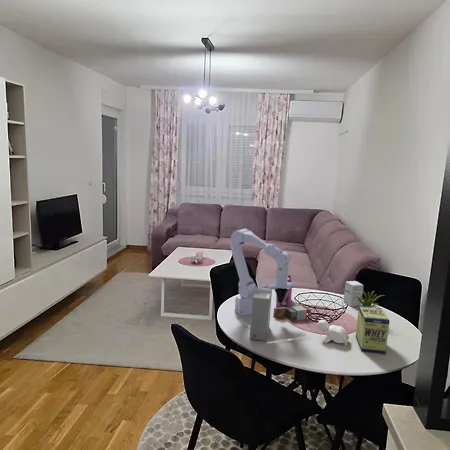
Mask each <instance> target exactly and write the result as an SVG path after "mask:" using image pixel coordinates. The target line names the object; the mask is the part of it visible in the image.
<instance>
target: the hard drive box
mask: <svg viewBox="0 0 450 450" xmlns="http://www.w3.org/2000/svg"><path fill="white" fill-rule="evenodd" d="M272 293H273V289H267V288H264V287H258V286H257V289H256V291H255V293H254V296H253V301H252V313H251V314H250V315H251V317H250V325H249V326H250V328H249V340H253V341H254V340H255V341H256V340H257V341H262V342H266V341H267V337H268V333H269V329H270V323H271V322H270V320H271V310H272V309H271V308H272V296H273V294H272Z"/></svg>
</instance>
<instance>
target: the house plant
mask: <svg viewBox="0 0 450 450" xmlns="http://www.w3.org/2000/svg"><path fill="white" fill-rule="evenodd" d="M362 291H363V293H362V294H363V295H364V297H363V295H362V296H361V295H360V294H359V293H358V292H357V293H358V294H359V295H360V297H361V298H362V300H361V298H360V297H359V296H358V295H356V296H357V298H358V299H359V300H356V301H360V302H359V303H361V305H360V306H366V307H376V308H379V303H377V302H376V301H377V300H378V299H379V298H381V297H383V296H386V295H384V294H383V295H382V294H381V295H377V294H374V292H375V290H373V291H371V292H369V291H368V292H367V293H366V292H365V291H364V289H363V290H362ZM373 294H374V295H373ZM374 302H375V303H374Z"/></svg>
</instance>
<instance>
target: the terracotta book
mask: <svg viewBox="0 0 450 450" xmlns="http://www.w3.org/2000/svg"><path fill="white" fill-rule="evenodd" d="M299 305H300V304H299ZM299 307H300V308H302V309H303V310H304V316H303V319H306V318H307V317H306V314H307V309H305V308H304V307H302V306H301V305H300V306H299ZM306 320H307V319H306Z"/></svg>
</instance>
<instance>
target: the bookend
mask: <svg viewBox="0 0 450 450" xmlns="http://www.w3.org/2000/svg"><path fill="white" fill-rule="evenodd" d="M296 314H297V312H296V311H295V310H294V309H292V308H291V307H289V308H285V317H287V318H288V319H289V320H291V321H290V322H294V321H293V320H296Z"/></svg>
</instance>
